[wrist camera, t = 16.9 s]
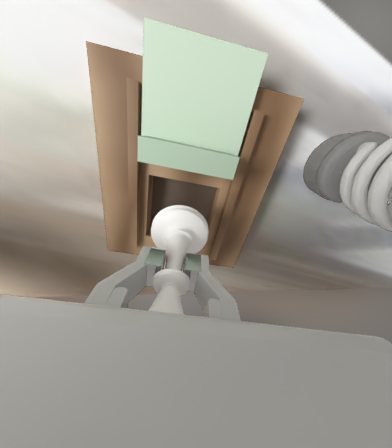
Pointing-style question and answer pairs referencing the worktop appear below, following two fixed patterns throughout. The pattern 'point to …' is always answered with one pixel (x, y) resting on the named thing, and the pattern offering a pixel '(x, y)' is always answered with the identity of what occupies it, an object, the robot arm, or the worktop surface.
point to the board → (174, 178)
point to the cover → (195, 99)
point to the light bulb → (355, 174)
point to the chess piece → (175, 253)
